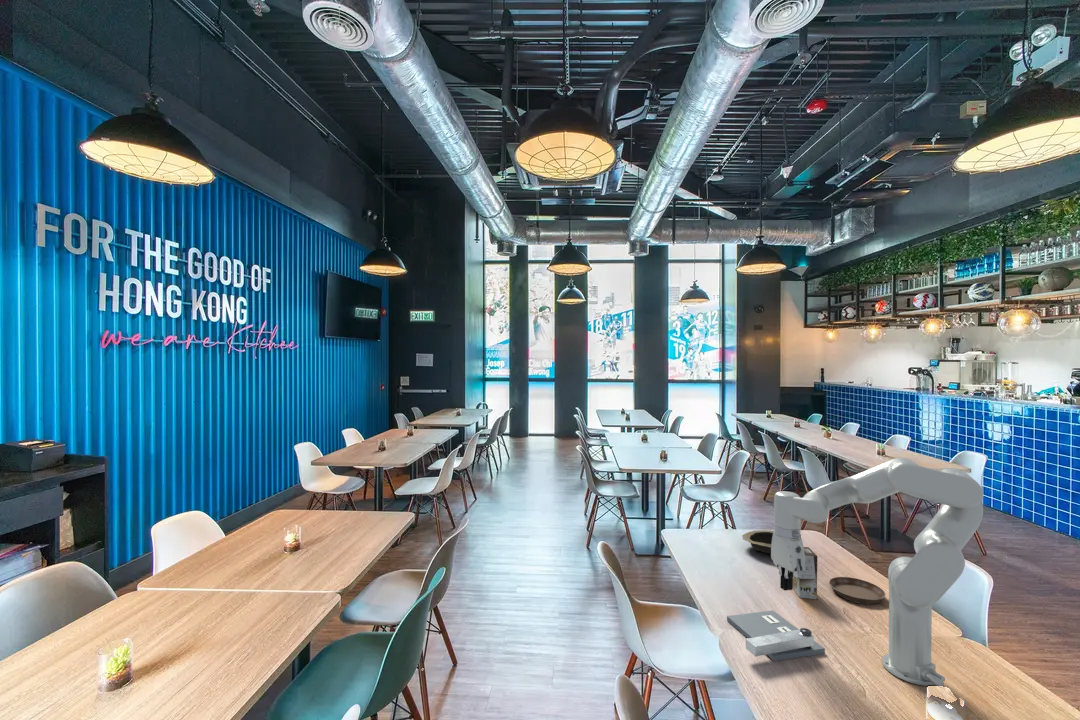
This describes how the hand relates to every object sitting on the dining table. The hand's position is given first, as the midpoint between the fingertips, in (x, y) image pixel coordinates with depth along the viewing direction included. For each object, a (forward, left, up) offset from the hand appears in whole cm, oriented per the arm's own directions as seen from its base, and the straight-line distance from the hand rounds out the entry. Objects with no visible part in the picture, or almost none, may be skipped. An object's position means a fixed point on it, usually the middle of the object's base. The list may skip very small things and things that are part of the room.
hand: (786, 588), depth 149 cm
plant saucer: (+18, -47, -16) cm, 53 cm away
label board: (+1, +4, -15) cm, 16 cm away
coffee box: (+23, -28, -15) cm, 39 cm away
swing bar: (-8, +9, -13) cm, 18 cm away
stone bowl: (+59, -43, -15) cm, 75 cm away
